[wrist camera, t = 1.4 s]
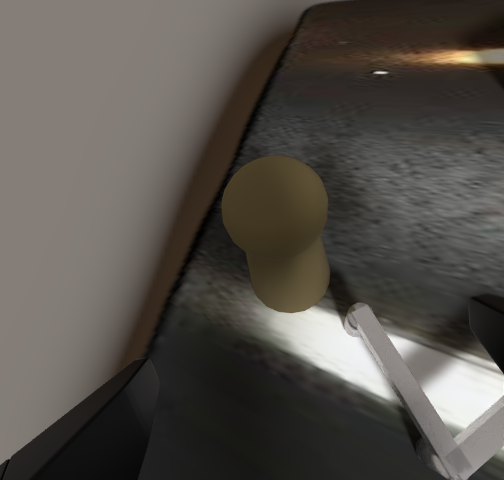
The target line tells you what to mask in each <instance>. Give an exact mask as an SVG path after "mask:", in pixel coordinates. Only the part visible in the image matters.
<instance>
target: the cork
mask: <svg viewBox="0 0 504 480" xmlns="http://www.w3.org/2000/svg"><path fill="white" fill-rule="evenodd" d="M221 208H222V217H223V224H224V226H225V228H226V230H227V231H228V233H229V235H230V237H231V239H232V240H233V242H234V243H235V244H237V245H238V246H239V247H240V248H241V249H242V250H243V251H245V252H246V257H247V262H248V267H249V273H250V278H251V283H252V288H253V289H254V291H255V293H256V295H257V297H258V298H259V299H260V300H261V301H262V302H263V303H264V304H265V305H266V306H267V307H269V308H272V309H274V310H276V311H278V312H285V313H295V312H300V311H305V310H307V309H309V308H310V307H312V306H314V305H316V304H317V303H318V302H319V301H320V299H321V298H322V297H323V296H324V295H325V293H326V291H327V288H328V286H329V283H330V268H329V264H328V261H327V257H326V253H325V250H324V246H323V243H322V239H321V232H322V230H323V228H324V226H325V224H326V221H327V214H328V196H327V193H326V190H325V187H324V185H323V182H322V180H321V178H320V177H319V176H318V175H317V174H316V172H315V171H314V170H313V169H312V168H310V167H309V166H307V165H306V164H304V163H302V162H301V161H299V160H297V159H295V158H291V157H287V156H267V157H263V158H259V159H255V160H254V161H252V162H250V163H248V164H246V165H244V166H243V167H242V168H241V169H240V170H238V171H237V172H236V173H235V174H234V175H233V177H232V178H231V180H230V182H229V183H228V185H227V187H226V188H225V190H224V194H223V198H222V203H221Z"/></svg>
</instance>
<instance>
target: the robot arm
mask: <svg viewBox="0 0 504 480" xmlns="http://www.w3.org/2000/svg"><path fill="white" fill-rule="evenodd" d="M469 324H470V328H471V330H472V332H473V334H474V335H475V336H476V338H477V339H478V340H479V342H480V343H481V344H482V346H483V347H484V348H485V350H486V351H487V352H488V354H489V355H490V356H491V358H492V359H493V360H494V362H495V363H496V364H497V366H498V367H499V368H500V370H501V371H502V372H503V374H504V298H503V297H498V296H494V295H490V294H483V295H478V296H473V297H471V298H470V299H469ZM159 386H160V384H159V379H158V376H157V374H156V371H155V369H154V366H153V364H152V362H151V360H150V359H149V358H143V359H137V360H134V361H133V362H132V363H130V364H129V365H128V366H126V367H125V368H124V369H123V370H121V371H120V372H119V373H117V374H116V375H115V376H114V377H112V378H111V379H110V380H109V381H107V382H106V383H105V384H103V385H102V386H101V387H100V388H98V389H97V390H96V391H94V392H93V393H92V394H91V395H90V396H88V397H87V398H86V399H84V400H83V401H82V402H80V403H79V404H78V405H77V406H75V407H74V408H73V409H71V410H70V411H69V412H68V413H66V414H65V415H64V416H62V417H61V418H60V419H59V420H57V421H56V422H55V423H54V424H52V425H51V426H50V427H48V428H47V429H46V430H45V431H43V432H42V433H41V434H40V435H38V436H37V437H36V438H35V439H33V440H32V441H31V442H30V443H28V444H27V445H25V446H24V447H23V448H22V449H21V450H19V451H18V452H16V453H15V454H14V455H13V456H12V457H11V459H8V460H6V461H5V462H4V463H2V464H1V465H0V480H138V477H139V473H140V470H141V467H142V463H143V460H144V456H145V453H146V450H147V446H148V442H149V438H150V434H151V429H152V424H153V418H154V413H155V408H156V403H157V398H158V393H159Z"/></svg>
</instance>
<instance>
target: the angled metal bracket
mask: <svg viewBox="0 0 504 480" xmlns="http://www.w3.org/2000/svg"><path fill="white" fill-rule="evenodd" d="M344 329H345V331H346V332H347V334H349V335H350V336H353V337H359V336H362V337H363V339H364V341H365V342H366V344H367V346H368V347H369V349H370V351H371V352H372V354H373V356H374V357H375V359H376V361H377V362H378V364H379V366H380V367H381V369H382V371H383V372H384V374H385V376H386V377H387V379H388V381H389V382H390V384H391V386H392V387H393V389H394V391H395V392H396V394H397V396H398V397H399V399H400V401H401V402H402V404H403V406H404V407H405V409H406V411H407V412H408V414H409V416H410V417H411V419H412V421H413V422H414V424H415V426H416V427H417V429H418V431H419V432H420V434H421V436H422V437H420V438H419V439H418V440H417V442H416V446H415V449H416V453H417V456H418V457H419V459H420V460H421V461H422V462H423V463H424V464H426V465H427V466H429V467H430V468H432V469H433V470H435V471H436V472H438V473H439V474H441V475H442V476H444V477H446V478H447V479H449V480H467V479H468V478H469V477H470V476H471V475H472V474H473V473H474V472H475V471H476V470H477V469H478V468H480V467H481V466H482V465H483V464H484V463H485V462H486V461H487V460H488V459H490V458H491V457H492V456H493V455H494V454H495V453H496V452H497V451H499V450H500V449H501V448H502V447H503V446H504V396H503V397H501V398H500V399H499V400H498V401H497V402H496V403H494V404H493V405H492V406H491V407H490V408H489V409H488V410H486V411H485V412H484V413H483V414H482V415H481V416H480V417H478V418H477V419H476V420H475V421H474V422H473V423H471V424H470V425H469V426H468V427H467V428H466V429H465V430H463V431H462V432H461V433H460V434H459V435H458V436H456V437H455V438H453V437H452V435H451V434H450V432H449V431H448V429H447V427H446V426H445V424H444V423H443V421H442V420H441V418H440V417H439V415H438V413H437V412H436V410H435V409H434V407H433V406H432V404H431V403H430V401H429V400H428V398H427V396H426V395H425V393H424V392H423V390H422V389H421V387H420V386H419V384H418V382H417V381H416V379H415V378H414V376H413V375H412V373H411V372H410V370H409V368H408V367H407V365H406V364H405V362H404V361H403V359H402V358H401V356H400V355H399V353H398V351H397V350H396V348H395V347H394V345H393V344H392V342H391V341H390V339H389V337H388V336H387V334H386V333H385V331H384V330H383V328H382V327H381V325H380V324H379V322H378V320H377V319H376V317H375V316H374V313H373V311H372V309H371V308H370V307H369V306H368V305H366V304H364V303H355V304H353V305H352V306H351V307H350V308H349V311H348V314H347V316H346V319H345V322H344Z"/></svg>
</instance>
